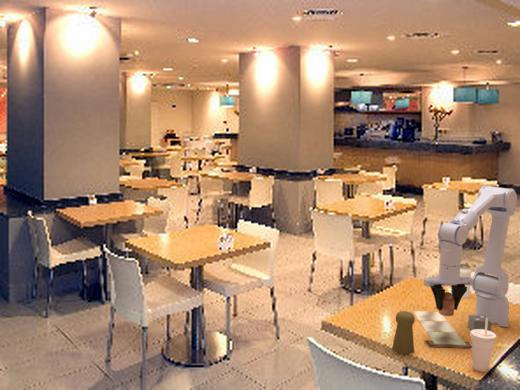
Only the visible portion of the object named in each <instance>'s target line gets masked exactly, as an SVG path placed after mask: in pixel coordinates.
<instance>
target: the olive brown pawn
mask: <svg viewBox="0 0 520 390" xmlns="http://www.w3.org/2000/svg"><path fill="white" fill-rule="evenodd" d="M415 320H416V317H415V314H414V313H412V312H410V311H407V310H400V311H398V312H397V313H396V316H395V321H396V323H397V324H396V327H395V333H394V334H395V335H394V339H393V344H392V351H393V352H395V353H396V354H401V355H412V354H414V353H415V344H414V342H415V341H414V330H413V329H414V328H413V325H414V324H415Z"/></svg>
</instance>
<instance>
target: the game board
mask: <svg viewBox="0 0 520 390" xmlns="http://www.w3.org/2000/svg"><path fill="white" fill-rule="evenodd" d="M413 315H414V316H416V317H415V318H417V319H418V321H419V323H420V324H421V325H422V327H423V328H424V330H425V332H427V335H428V336H429V338H430V339H431V340H427V339H426V340H425V343H426V345H428V347H429V348H442V349H443V348H444V349H445V348H446V349H447V348H448V349H468V348H472V343H470V341H464V340H463V338H462V337H461V336H460V335H459V334H458V333H457V331H456V330H455V328H454V327H453V326H452V325H451V324H450V322H449V321H448V320H447V319H446V316H444V315H441V314H439V311H429V310H428V311H426V310H425V311H424V310H423V311H421V310H413ZM468 350H469V349H468Z"/></svg>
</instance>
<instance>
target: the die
mask: <svg viewBox="0 0 520 390" xmlns="http://www.w3.org/2000/svg"><path fill="white" fill-rule="evenodd" d="M486 318H487V317H486V316H480V315H475V314H473V315H472V314H469V315H468V323H467V328H468V329H469V330H470V332H471V331H472V330H474V329H483V330H485V322H486ZM491 329H492V323H491V321H490V320H489V319H488V326H487V330H488V331H491V332H492V330H491Z"/></svg>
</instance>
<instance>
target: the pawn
mask: <svg viewBox="0 0 520 390" xmlns="http://www.w3.org/2000/svg"><path fill="white" fill-rule="evenodd" d="M454 305H455V299H454V298H453V296H452V294H451V292H449V291H445V293H444V297H443V305H442V310H438V312H439V314H441V315H443V316H444V317H452V316H454V315H455V314H454V313H455V310H454Z"/></svg>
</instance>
